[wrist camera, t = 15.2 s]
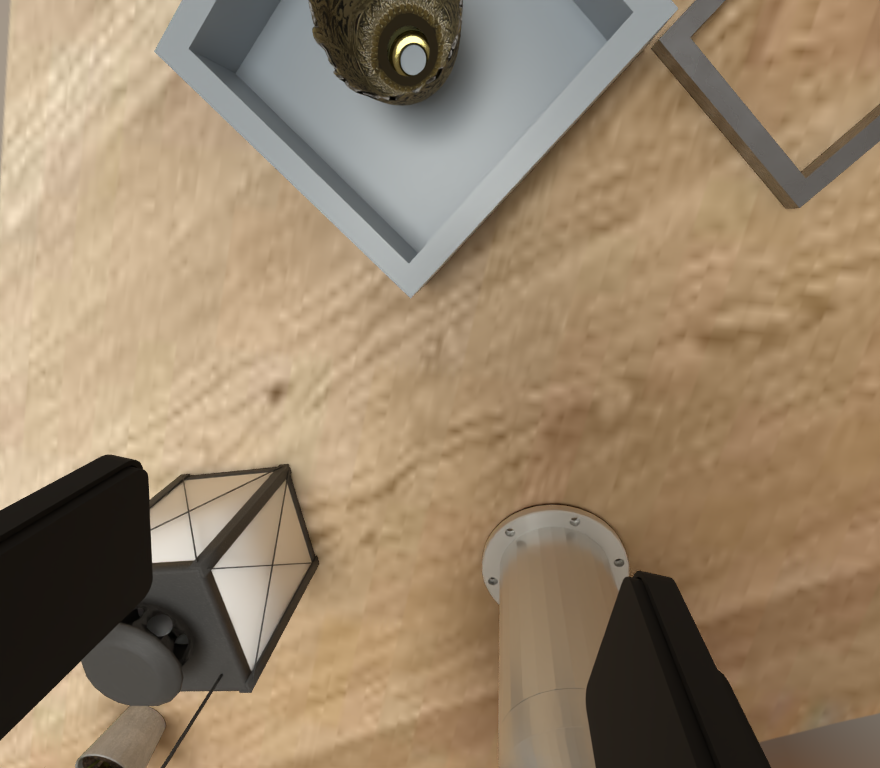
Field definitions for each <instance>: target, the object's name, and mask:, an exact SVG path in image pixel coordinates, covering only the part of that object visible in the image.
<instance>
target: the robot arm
mask: <svg viewBox="0 0 880 768" xmlns="http://www.w3.org/2000/svg"><path fill="white" fill-rule="evenodd" d="M482 574H483V579H484V583H485V585H486V587H487V589H488V591H489V593H490V595H491V596H492V597H493V598H494V600H495V601H496V602H497V603H498V604H499V712H498V767H499V768H771V767H770V765H769V762H768V760H767V758H766V756H765V754H764V752H763V750H762V748H761V747H760V744H759V742H758V740H757V738H756V736H755V734H754V732H753V730H752V728H751V726H750V724H749V722H748V720H747V718H746V716H745V714H744V712H743V710H742V708H741V706H740V704H739V702H738V700H737V698H736V696H735V694H734V692H733V690H732V688H731V686H730V684H729V682H728V681H727V679H726V678H725V676H724V675H723V674H722V673H721V672H720V671H719V670H717V668H716V666H715V664H714V662H713V660H712V657H711V655H710V653H709V651H708V649H707V647H706V645H705V643H704V641H703V639H702V637H701V635H700V633H699V631H698V628H697V626H696V624H695V622H694V620H693V618H692V616H691V614H690V612H689V610H688V608H687V606H686V604H685V602H684V599H683V597H682V595H681V593H680V591H679V589H678V587H677V585H676V583H675V582H674V580H673V579H672V578H670V577H666V576H661V575H657V574H652V573H647V572H643V571H637V572H636V573H635V574H634V576H633V578H632V577H629V562H628V558H627V555H626V551H625V549H624V547H623V544H622V542H621V540H620V538H619V537H618V536H617V534H616V533H615V531H614V530H613V529H612V528H611V527H610V526H609V525H608V524H607V523H606V522H605V521H603V520H601V519H600V518H598V517H597V516H595V515H594V514H591V513H589V512H587V511H584V510H582V509H579V508H574V507H570V506H565V505H542V506H535V507H531V508H528V509H524V510H522V511H519V512H517V513H515V514H513V515H511V516H510V517H508V518H507V519H505V520H504V521H502V522H501V523H500V524H499V525H498V526H497V527H496V528H495V529H494V530H493V532H492V533H491V535H490V536H489V538H488V540H487V542H486V545H485V548H484V551H483V559H482ZM152 582H153V570H152V548H151V527H150V505H149V483H148V474H147V472H146V471H145V470H143V467H142V465H141V463H140V462H138V461H137V460H133V459H128V458H124V457H119V456H115V455H104V456H101V457H99V458H98V459H96V460H94V461H92V462H90V463H88V464H86V465H84V466H83V467H81V468H79V469H77V470H75V471H73V472H71V473H70V474H68V475H66V476H64V477H62V478H60V479H58V480H56V481H55V482H53V483H51V484H49V485H47V486H45V487H43V488H41V489H40V490H38V491H36V492H34V493H32V494H30V495H28V496H27V497H25V498H23V499H21V500H19V501H17V502H15V503H13V504H12V505H10V506H8V507H6V508H4V509H2V510H0V740H1V739H2V738H3V737H4V736H5V735H6V734H7V733H8V732H9V731H10V730H11V729H12V728H13V727H14V726H15V725H16V724H17V723H18V722H20V721H21V720H22V719H23V718H24V717H25V716H26V715H27V714H28V713H29V712H30V711H31V710H32V709H33V708H34V707H35V706H36V705H37V704H38V703H39V702H40V701H41V700H42V699H43V698H44V697H45V696H46V695H47V694H48V693H49V692H50V691H51V690H52V689H53V688H54V687H55V686H56V685H57V684H58V683H59V682H60V681H61V680H62V679H63V678H64V677H65V676H66V675H67V674H68V673H69V672H70V671H71V670H72V669H73V668H74V667H75V666H76V665H77V664H78V663H79V662H80V661H81V660H82V659H83V658H84V657H85V656H86V655H87V654H88V653H89V652H90V651H91V650H92V649H93V648H95V647H96V646H97V645H98V644H99V643H100V642H101V641H102V640H103V639H104V638H105V637H106V636H107V635H108V634H109V633H110V632H111V631H112V630H113V629H114V628H115V627H116V626H117V625H118V624H119V623H120V622H121V621H122V620H123V619H124V618H125V617H126V616H127V615H128V614H129V613H130V612H131V611H132V610H133V609H134V608H135V607H136V606H137V605H138V604H139V603H140V602H141V601H142V600H143V599H144V598H145V597H146V595H147V594H148V592H149V590H150V588H151V585H152Z"/></svg>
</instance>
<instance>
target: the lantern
mask: <svg viewBox="0 0 880 768" xmlns="http://www.w3.org/2000/svg"><path fill="white" fill-rule="evenodd" d="M290 474H291V470H290V466H289V464H284V465H279V466H278V467H272V468H262V469H252V470H241V471H231V472H221V473H211V474H201V475H190V474H183V475H180V476H179V477H178V478H176V479H175V480H174V481H173V482H171V483H170V484H169V485H168V486H166V487H165V488H164V489H163V490H161V491H160V492H159V493H158V494H156V495H155V496H154V497H153V498H152V499H150V500H149V505H150V527H151V548H152V570H153V582H152V585H151V588H150V590H149V592H148V594H147V595H146V597H145V598H144V599H143V600H142V601H141V602H140V603H139V604H138V605H137V606H136V607H135V608H134V609H133V610H132V611H131V612H130V613H129V614H128V615H127V616H126V617H125V618H124V619H123V620H122V621H121V622H120V623H119V624H118V625H117V626H116V627H115V628H114V629H113V630H112V631H111V632H110V633H109V634H108V635H107V636H106V637H105V638H104V639H103V640H102V641H101V642H100V643H99V644H98V645H97V646H96V647H95V648H93V649H92V650H91V651H90V652H89V653H88V654H87V655H86V656H85V657H84V658H83V659H82V660H81V662H82V665H83V668H84V670H85V673H86V676H87V678H88V679H89V680H90V682H91V683H92V684H93V686H94V687H95V688H96V689H97V690H99V691H100V692H101V693H102V694H104V695H105V696H106V697H108V698H110V699H112V700H114V701H116V702H118V703H122V704H126V705H130V706H159V705H161V704H164V703H167V702H170V701H171V700H172V699H173V698H174V697H175V696H176V695H177V694H178V693H179V692H180V691H209V693H208V695H207V696H206V698H205V699H204V701H203V702H202V704H201V706H200V707H199V709H198V710H197V712H196V713H195V715H194V716H193V718H192V720H191V721H190V723H189V724H188V726H187V728H186V729H185V731H184V732H183V734H182V735H181V737H180V739H179V740H178V742H177V743H176V745H175V746H174V748H173V750H172V751H171V753H170V755H169V756H168V758H167V759H166V761H165V762H164V764H163V765H162V767H161V768H165V767H166V765H167V764H168V762H169V761H170V759H171V758H172V756H173V754H174V753H175V751H176V749H177V748H178V746H179V745H180V743H181V741H182V740H183V738H184V737H185V735H186V734H187V732H188V731H189V729H190V727H191V726H192V724H193V722H194V721H195V719H196V718H197V716H198V714H199V713H200V711H201V710H202V708H203V707H204V705H205V703H206V702H207V700H208V699H209V697H210V695H211V694H212V692H213V691H239V692H240V693H251V692H252V690H253V688H254V686H255V685H256V683H257V681H258V679H259V677H260V675H261V673H262V671H263V669H264V667H265V666H266V664H267V662H268V660H269V658H270V656H271V654H272V652H273V650H274V649H275V647H276V645H277V643H278V641H279V639H280V637H281V635H282V633H283V631H284V630H285V628H286V626H287V624H288V622H289V620H290V618H291V616H292V614H293V612H294V611H295V609H296V607H297V605H298V603H299V601H300V599H301V597H302V595H303V594H304V592H305V590H306V588H307V586H308V584H309V582H310V580H311V578H312V576H313V575H314V573H315V571H316V569H317V567H318V565H319V561H318V558H317V556H315V554H314V551H313V547H312V544H311V541H310V538H309V534H308V531H307V528H306V525H305V521H304V518H303V515H302V512H301V508H300V505H299V502H298V499H297V495H296V492H295V489H294V486H293V482H292V479H291V476H290Z"/></svg>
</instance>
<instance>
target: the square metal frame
mask: <svg viewBox="0 0 880 768" xmlns="http://www.w3.org/2000/svg"><path fill="white" fill-rule="evenodd" d="M724 1H725V0H696V1H695V2H694V3H693V4H692V5H691V6H690V7H689V8H688V9H687V10H686V11H685V12H684V13H683V14H682V16H681V17H680V18H679V19H678V20H677V21H676V22H675V23H674V24H673V25H672V26H671V27H670V28H669V30H668V31H667V32H666V33H665V34H664V35H663V36H662V37H661V38H660V39H659V40H658V41H657V43H656V44H655V45H654V46H653V47H652V50H653V51H654V52H655V53H656V54H657V56H658V57H659V58H660V59H661V60H662V61H663V63H664V64H665V65H666V66H667V67H668V69H669V70H670V71H671V72H672V73H673V75H674V76H675V77H676V78H677V79H678V81H679V82H680V83H681V84H682V85H683V86H684V88H685V89H686V90H687V91H688V92H689V94H690V95H691V96H692V97H693V98H694V100H695V101H696V102H697V103H698V104H699V105H700V107H701V108H702V109H703V110H704V111H705V113H706V114H707V115H708V116H709V117H710V119H711V120H712V121H713V122H714V123H715V125H716V126H717V127H718V128H719V129H720V130H721V132H722V133H723V134H724V135H725V136H726V138H727V139H728V140H729V141H730V142H731V144H732V145H733V146H734V147H735V148H736V150H737V151H738V152H739V153H740V154H741V155H742V157H743V158H744V159H745V160H746V161H747V163H748V164H749V165H750V166H751V167H752V169H753V170H754V171H755V172H756V173H757V175H758V176H759V177H760V178H761V179H762V180H763V182H764V183H765V184H766V185H767V186H768V188H769V189H770V190H771V191H772V192H773V194H774V195H775V196H776V197H777V198H778V200H779V201H780V202H781V203H782V204H783V205H784V207H785V208H800V207H801V206H803V205H804V204H805V203H806V202H807V201H809V200H810V199H811V198H812V197H813V196H815V195H816V194H817V193H818V192H819V191H821V190H822V189H823V188H824V187H825V186H827V185H828V184H829V183H830V182H831V181H832V180H834V179H835V178H836V177H837V176H838V175H840V174H841V173H842V172H843V171H844V170H846V169H847V168H848V167H849V166H850V165H852V164H853V163H854V162H855V161H856V160H858V159H859V158H860V157H861V156H862V155H864V154H865V153H866V152H867V151H868V150H870V149H871V148H872V147H873V146H874V145H876V144H877V143H878V142H879V141H880V104H879V105H878V106H877V107H876V108H875V109H874V110H873V111H871V112H870V113H869V114H868V115H867V116H866V117H864V118H863V119H862V120H861V121H860V122H859V123H857V124H856V125H855V126H854V127H853V128H852V129H850V130H849V131H848V132H847V133H846V134H845V135H844V136H842V137H841V138H840V139H839V140H838V141H837V142H835V143H834V144H833V145H832V146H831V147H830V148H828V149H827V150H826V151H825V152H824V153H823V154H822V155H820V156H819V157H818V158H817V159H816V160H815V161H813V162H812V163H811V164H810V165H809V166H808V167H806V168H805V169H804V170H803V171H802V172H800V171H799V170H798V168H797V167H796V166H795V165H794V164H793V162H792V161H791V160H790V159H789V157H788V156H787V155H786V154H785V153H784V151H783V150H782V149H781V148H780V146H779V145H778V144H777V143H776V142H775V140H774V139H773V138H772V137H771V136H770V134H769V133H768V132H767V131H766V129H765V128H764V127H763V126H762V125H761V123H760V122H759V121H758V120H757V118H756V117H755V116H754V115H753V114H752V112H751V111H750V110H749V109H748V108H747V106H746V105H745V104H744V103H743V101H742V100H741V99H740V98H739V97H738V95H737V94H736V93H735V92H734V90H733V89H732V88H731V87H730V86H729V84H728V83H727V82H726V81H725V80H724V78H723V77H722V76H721V75H720V73H719V72H718V71H717V70H716V69H715V67H714V66H713V65H712V64H711V62H710V61H709V60H708V59H707V58H706V56H705V55H704V54H703V53H702V52H701V50H700V49H699V48H698V47H697V45H696V44H695V43H694V42H693V41H692V39H691V38H690V37H691V36H692V35H693V34H694V33H695V32H696V30H697V29H698V28H699V27H700V26H701V25H702V24H703V23H704V22H705V21H706V20H707V19H708V18H709V17H710V16H711V15H712V14H713V13H714V12H715V11H716V10H717V8H718V7H719V6H720V5H721V4H722V3H723V2H724Z"/></svg>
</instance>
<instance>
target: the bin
mask: <svg viewBox="0 0 880 768" xmlns="http://www.w3.org/2000/svg"><path fill="white" fill-rule="evenodd" d="M677 9H678V8H677V6H676V5H675V4H674V3H673V1H672V0H463V12H462V25H461V37H460V44H459V50H458V54H457V58H456V61H455V64H454V66H453V69H452V71H451V73H450V75H449V77H448V78H447V80H446V81H445V83H444V84H443V85H442V87H441V88H440V89H439V90H438V91H437V92H436V93H434V94H433V95H432V96H430V97H429V98H427V99H426V100H424V101H422V102H419V103H416V104H412V105H404V106H400V105H391V104H386V103H383V102H380V101H377V100H375V99H372V98H370V97H368V96H365V95H362V94H359V93H356V92H354V91H353V90H351V89H350V88H348V87H347V85H346V84H345V83H344V82H343V81H341V80H340V79H339V78H338V77H336V75H335V74H334V73H333V71H334V70H335V69H334V68H333V66H332V65H331V64H330V63H329V61H328V57H327V55H326V52H325V50H324V49H323V48H322V47H321V46H320V45H318V44H317V42H316V41H315V39H314V37H313V33H312V28H313V27H314V24H313V20H312V15H311V12H310V8H309V1H308V0H182V1H181V3H180V5H179V7H178V9H177V11H176V12H175V14H174V16H173V18H172V20H171V22H170V23H169V25H168V27H167V29H166V31H165V33H164V34H163V36H162V38H161V40H160V42H159V44H158V45H157V47H156V49H155V51H154V52H155V53H156V54H157V55H158V56H159V57H160V58H161V59H162V60H164V61H165V62H166V63H167V64H168V65H169V66H170V67H171V68H172V69H173V70H174V71H175V72H176V73H177V74H178V75H179V76H180V77H181V78H182V79H183V80H184V81H185V82H186V83H187V84H188V85H189V86H191V87H192V88H193V89H194V90H195V91H196V92H197V93H198V94H199V95H200V96H201V97H202V98H203V99H204V100H205V101H206V102H207V103H208V104H209V105H210V106H211V107H212V108H213V109H214V110H215V111H217V112H218V113H219V114H220V115H221V116H222V117H223V118H224V119H225V120H226V121H227V122H228V123H229V124H230V125H231V126H232V127H233V128H234V129H235V130H236V131H237V132H238V133H239V134H240V135H241V136H242V137H244V138H245V139H246V140H247V141H248V142H249V143H250V144H251V145H252V146H253V147H254V148H255V149H256V150H257V151H258V152H259V153H260V154H261V155H262V156H263V157H264V158H265V159H266V160H267V161H268V162H270V163H271V164H272V165H273V166H274V167H275V168H276V169H277V170H278V171H279V172H280V173H281V174H282V175H283V176H284V177H285V178H286V179H287V180H288V181H289V182H290V183H291V184H292V185H293V186H294V187H295V188H297V189H298V190H299V191H300V192H301V193H302V194H303V195H304V196H305V197H306V198H307V199H308V200H309V201H310V202H311V203H312V204H313V205H314V206H315V207H316V208H317V209H318V210H319V211H320V212H321V213H323V214H324V215H325V216H326V217H327V218H328V219H329V220H330V221H331V222H332V223H333V224H334V225H335V226H336V227H337V228H338V229H339V230H340V231H341V232H342V233H343V234H344V235H345V236H346V237H347V238H348V239H350V240H351V241H352V242H353V243H354V244H355V245H356V246H357V247H358V248H359V249H360V250H361V251H362V252H363V253H364V254H365V255H366V256H367V257H368V258H369V259H370V260H371V261H372V262H373V263H374V264H376V265H377V266H378V267H379V268H380V269H381V270H382V271H383V272H384V273H385V274H386V275H387V276H388V277H389V278H390V279H391V280H392V281H393V282H394V283H395V284H396V285H397V286H398V287H399V288H400V289H401V290H403V291H404V292H405V293H406V294H407V295H408V296H409V297H410V298H412V297H413V296H414V295H415V294H416V293H417V292H418V291H419V290H420V289H422V288H423V287H424V286H425V285H426V284H427V283H428V282H429V281H430V280H431V278H432V277H433V276H434V275H435V274H436V273H437V272H438V271H439V270H440V269H441V268H442V267H443V265H444V264H445V263H446V262H447V261H448V260H449V259H450V258H451V257H452V256H453V255H454V254H455V253H456V251H457V250H458V249H459V248H460V247H461V246H462V245H463V244H464V243H465V242H466V241H467V240H468V238H469V237H470V236H471V235H472V234H473V233H474V232H475V231H476V230H477V229H478V228H479V227H480V226H481V224H482V223H483V222H484V221H485V220H486V219H487V218H488V217H489V216H490V215H491V214H492V213H493V211H494V210H495V209H496V208H497V207H498V206H499V205H500V204H501V203H502V202H503V201H504V200H505V199H506V197H507V196H508V195H509V194H510V193H511V192H512V191H513V190H514V189H515V188H516V187H517V186H518V184H519V183H520V182H521V181H522V180H523V179H524V178H525V177H526V176H527V175H528V174H529V173H530V172H531V170H532V169H533V168H534V167H535V166H536V165H537V164H538V163H539V162H540V161H541V160H542V159H543V157H544V156H545V155H546V154H547V153H548V152H549V151H550V150H551V149H552V148H553V147H554V146H555V145H556V143H557V142H558V141H559V140H560V139H561V138H562V137H563V136H564V135H565V134H566V133H567V132H568V130H569V129H570V128H571V127H572V126H573V125H574V124H575V123H576V122H577V121H578V120H579V119H580V118H581V116H582V115H583V114H584V113H585V112H586V111H587V110H588V109H589V108H590V107H591V106H592V105H593V103H594V102H595V101H596V100H597V99H598V98H599V97H600V96H601V95H602V94H603V93H604V92H605V91H606V89H607V88H608V87H609V86H610V85H611V84H612V83H613V82H614V81H615V80H616V79H617V78H618V76H619V75H620V74H621V73H622V72H623V71H624V70H625V69H626V68H627V67H628V66H629V65H630V64H631V62H632V61H633V60H634V59H635V58H636V57H637V56H638V55H639V54H640V53H641V52H642V51H643V49H644V48H645V47H646V46H647V45H648V44H649V42H650V41H651V40H652V39H653V38H654V37H655V35H656V34H657V33H658V32H659V31H660V30H661V28H662V27H663V26H664V25H665V24H666V22H667V21H668V20H669V19H670V18H671V17H672V15H673V14H674V13H675V12H676V11H677ZM400 62H401V66H402V68H403V70H404V71H405V72H406V73H407V74H410V75H416V74H418V73H420V72H421V71H422V70H423V69H424V67H425V64H426V56H425V53H424V51H423V49H422V48H421V47H419V46H418V45H409V46H407V47H406V48H405V49H404V50H403V52H402V54H401V58H400Z"/></svg>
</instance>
